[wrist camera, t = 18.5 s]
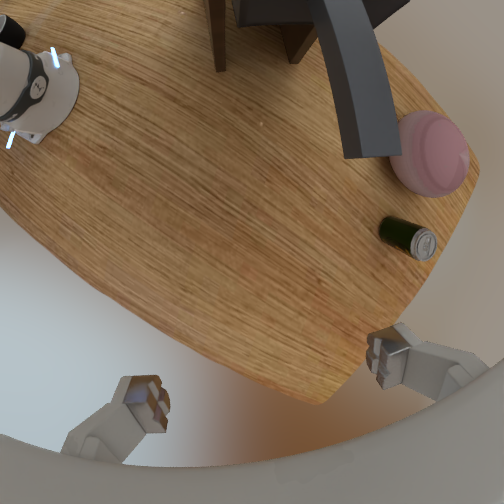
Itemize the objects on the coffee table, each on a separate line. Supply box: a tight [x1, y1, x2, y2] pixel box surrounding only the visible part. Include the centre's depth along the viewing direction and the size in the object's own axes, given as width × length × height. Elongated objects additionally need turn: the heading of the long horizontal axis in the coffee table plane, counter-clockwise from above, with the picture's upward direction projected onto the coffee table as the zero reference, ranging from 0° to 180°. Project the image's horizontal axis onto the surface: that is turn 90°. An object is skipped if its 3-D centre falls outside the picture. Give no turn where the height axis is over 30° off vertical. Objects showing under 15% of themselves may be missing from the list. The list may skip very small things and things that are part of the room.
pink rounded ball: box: [389, 110, 469, 198], centre depth 37 cm, size 15×15×15 cm
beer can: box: [379, 216, 437, 261], centre depth 42 cm, size 5×5×12 cm
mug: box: [0, 15, 25, 49], centre depth 23 cm, size 12×9×10 cm
